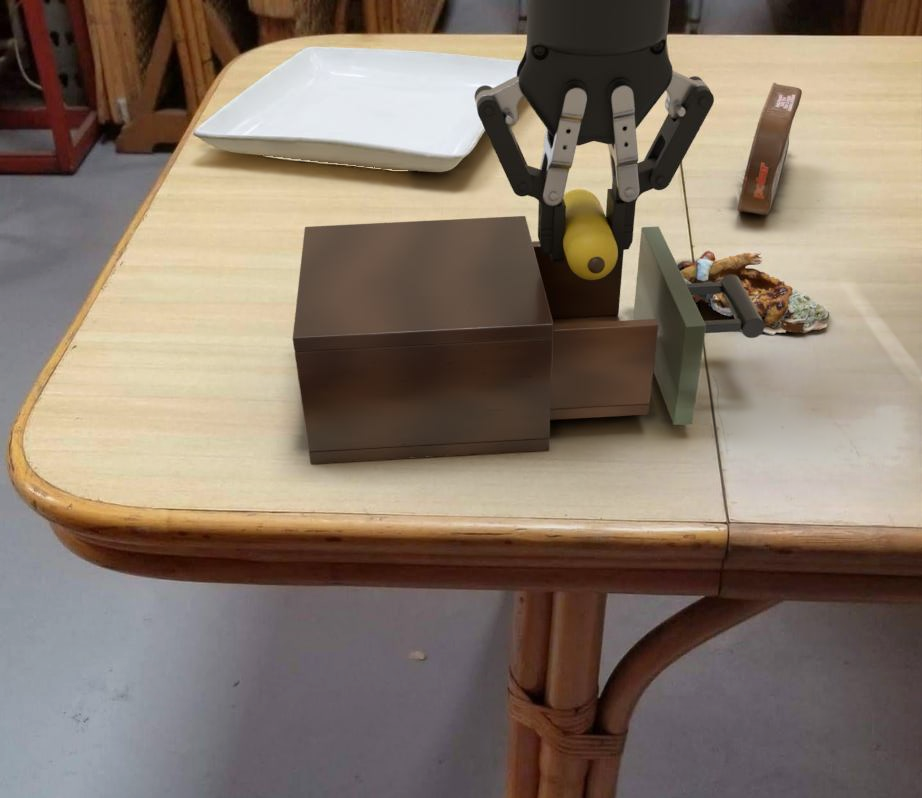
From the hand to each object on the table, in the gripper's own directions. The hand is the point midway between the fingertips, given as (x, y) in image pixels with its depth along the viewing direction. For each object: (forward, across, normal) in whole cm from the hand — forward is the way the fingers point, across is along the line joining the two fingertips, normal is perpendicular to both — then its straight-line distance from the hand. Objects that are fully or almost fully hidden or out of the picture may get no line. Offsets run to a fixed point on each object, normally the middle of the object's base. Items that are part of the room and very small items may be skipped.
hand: (584, 254), depth 66 cm
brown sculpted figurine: (+10, +14, +9) cm, 19 cm away
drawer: (+8, +2, 0) cm, 9 cm away
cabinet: (+9, -10, 0) cm, 14 cm away
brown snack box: (+10, +21, +29) cm, 37 cm away
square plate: (+10, -13, +50) cm, 53 cm away
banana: (0, 0, 0) cm, 0 cm away
